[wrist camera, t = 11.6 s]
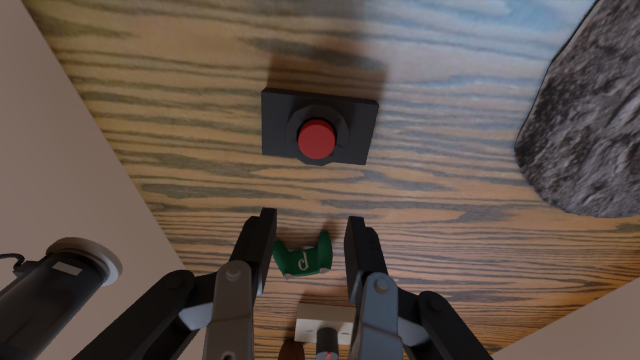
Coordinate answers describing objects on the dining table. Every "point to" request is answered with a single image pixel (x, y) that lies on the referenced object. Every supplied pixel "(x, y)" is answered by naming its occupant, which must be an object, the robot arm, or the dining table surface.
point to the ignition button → (316, 139)
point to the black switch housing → (300, 107)
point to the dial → (327, 344)
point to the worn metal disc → (589, 119)
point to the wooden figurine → (291, 351)
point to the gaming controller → (304, 258)
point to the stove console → (324, 321)
